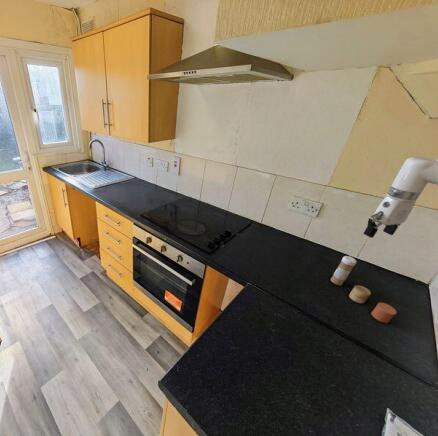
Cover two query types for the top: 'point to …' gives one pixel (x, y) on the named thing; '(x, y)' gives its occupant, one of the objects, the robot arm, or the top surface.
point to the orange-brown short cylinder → (383, 312)
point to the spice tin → (359, 294)
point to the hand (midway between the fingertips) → (377, 234)
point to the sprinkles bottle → (343, 270)
